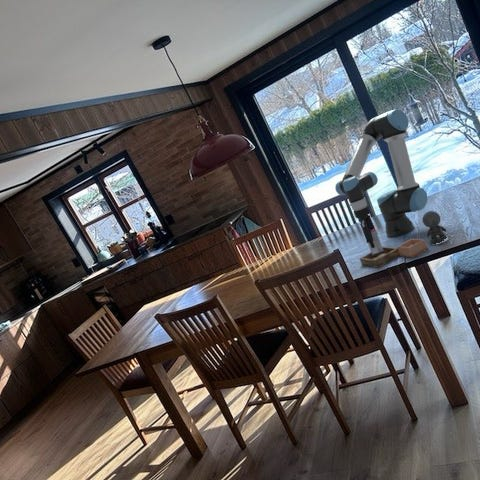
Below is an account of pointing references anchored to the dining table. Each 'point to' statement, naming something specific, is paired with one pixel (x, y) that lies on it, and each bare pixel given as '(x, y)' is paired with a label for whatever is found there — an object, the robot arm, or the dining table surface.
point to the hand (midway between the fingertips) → (377, 250)
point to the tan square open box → (412, 248)
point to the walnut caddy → (380, 257)
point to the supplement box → (376, 242)
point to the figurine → (434, 227)
